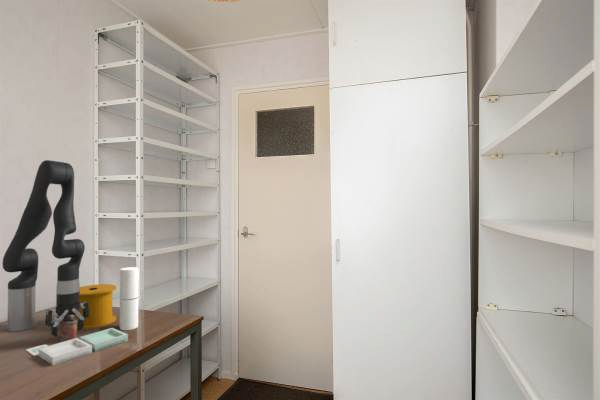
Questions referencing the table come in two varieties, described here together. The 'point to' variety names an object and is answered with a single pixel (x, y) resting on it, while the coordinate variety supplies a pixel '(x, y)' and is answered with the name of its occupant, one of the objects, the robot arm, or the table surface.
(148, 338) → the table surface
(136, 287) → the cylindrical container
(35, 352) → the card
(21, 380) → the table surface
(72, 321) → the lighter
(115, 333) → the green tray
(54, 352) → the white tray
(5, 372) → the table surface
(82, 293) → the spool
